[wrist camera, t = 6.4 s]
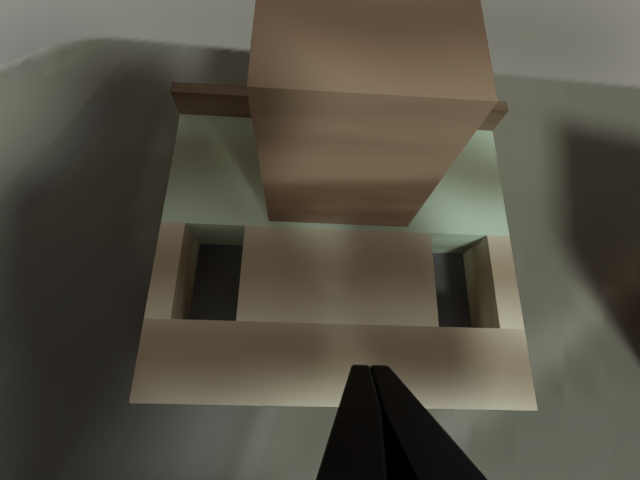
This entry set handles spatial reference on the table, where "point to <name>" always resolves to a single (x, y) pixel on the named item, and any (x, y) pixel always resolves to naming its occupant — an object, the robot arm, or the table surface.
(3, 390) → the table surface
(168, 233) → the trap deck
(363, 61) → the walnut block
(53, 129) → the table surface
